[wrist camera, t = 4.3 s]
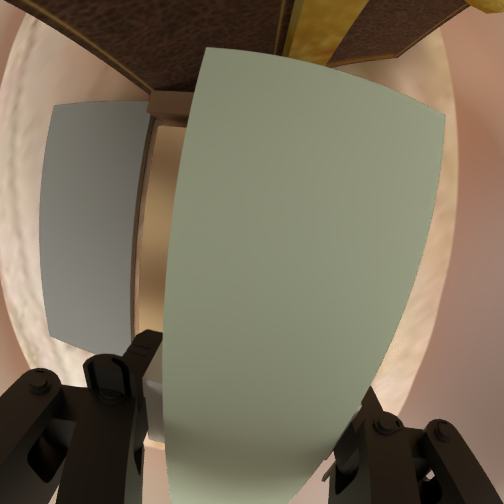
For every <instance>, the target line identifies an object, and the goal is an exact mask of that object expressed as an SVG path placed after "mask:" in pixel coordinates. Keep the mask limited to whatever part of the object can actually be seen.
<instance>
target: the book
mask: <svg viewBox="0 0 504 504" xmlns="http://www.w3.org/2000/svg"><path fill="white" fill-rule="evenodd" d="M4 1H6V2H8V3H10V4H12V5H14V6H16V7H18V8H20V9H21V10H23V11H25V12H27V13H29V14H30V15H32V16H34V17H36V18H37V19H39V20H41V21H42V22H44V23H46V24H47V25H49V26H51V27H52V28H54V29H56V30H57V31H59V32H60V33H62V34H63V35H65V36H67V37H68V38H70V39H71V40H73V41H74V42H76V43H77V44H79V45H80V46H82V47H84V48H85V49H86V50H88V51H89V52H91V53H92V54H94V55H95V56H97V57H98V58H100V59H101V60H103V61H104V62H105V63H107V64H108V65H110V66H111V67H113V68H114V69H115V70H117V71H118V72H120V73H121V74H122V75H124V76H125V77H126V78H128V79H129V80H130V81H132V82H133V83H135V84H136V85H137V86H139V87H140V88H141V89H143V90H144V91H145V92H147V93H148V94H149V95H150V94H151V91H178V92H195V88H196V84H197V80H198V76H199V72H200V68H201V65H202V61H203V57H204V54H205V50H206V47H209V48H223V49H234V50H243V51H251V52H258V53H265V54H271V55H276V56H282V57H287V58H292V59H296V60H301V61H305V62H310V63H314V64H318V65H321V66H325V67H329V68H331V67H336V66H341V65H347V64H353V63H359V62H365V61H372V60H380V59H389V58H398V57H399V56H400V55H402V54H403V53H404V52H406V51H407V50H408V49H410V48H411V47H412V46H414V45H415V44H416V43H418V42H419V41H420V40H422V39H423V38H424V37H426V36H427V35H429V34H430V33H431V32H433V31H434V30H435V29H437V28H438V27H440V26H441V25H443V24H444V23H445V22H447V21H448V20H450V19H451V18H453V17H454V16H456V15H457V14H459V13H460V12H462V11H463V10H465V9H466V8H468V7H469V6H473V7H475V8H477V9H479V10H481V11H483V12H485V13H487V14H489V13H501V12H503V11H504V0H4Z"/></svg>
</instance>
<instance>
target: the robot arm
mask: <svg viewBox="0 0 504 504" xmlns="http://www.w3.org/2000/svg"><path fill="white" fill-rule="evenodd" d="M162 346H163V333H162V332H158V331H154V330H150V329H146V330H144V331H143V332H141V333H139V334H137V335H136V337H135V338H134V340H133V341H132V343H131V345H129V347H128V348H127V350H126V352H125V353H124V354H123V356H119V355H115V354H106V353H103V354H98V355H94V356H92V357H90V358H89V359H87V360H86V361H85V363H84V364H83V369H84V374H85V378H86V383H87V387H75V386H68V385H62V384H61V381H60V379H59V377H58V375H56V374H55V373H54V372H53V371H51V370H48V369H45V368H35V369H31V370H29V371H27V372H26V373H24V374H23V375H22V376H21V377H20V378H19V379H18V380H17V381H16V382H15V383H14V384H12V386H10V388H8V390H6V392H5V393H3V394H2V396H1V397H0V504H48V503H49V501H50V500H51V498H52V496H53V494H54V492H55V491H56V489H57V487H58V485H59V489H58V494H57V499H56V504H142V486H143V464H144V451H145V450H144V444H143V442H144V439H145V436H146V434H147V431H148V437H149V439H150V440H154V441H158V442H161V443H165V438H164V421H163V392H162ZM333 451H334V455H335V459H336V461H335V462H334V463H333V464H332V466H331V467H330V468H329V469H328V471H327V472H326V473H325V474H324V476H323V478H322V481H324V482H325V480H326V479H327V478H328V477H329V476H330V481H329V482H330V483H329V499H328V504H503V502H502V500H501V499H500V497H499V495H498V493H497V492H496V490H495V488H494V486H493V485H492V483H491V481H490V480H489V478H488V477H487V475H486V473H485V472H484V470H483V468H482V467H481V465H480V464H479V462H478V461H477V459H476V458H475V456H474V454H473V453H472V451H471V450H470V448H469V447H468V446H467V444H466V442H465V441H464V439H463V438H462V436H461V435H460V433H459V432H458V431H457V430H456V428H455V427H454V426H453V425H452V424H451V423H449V422H448V421H445V420H442V419H435V420H432V421H430V422H429V423H428V425H427V426H426V427H425V429H424V430H422V429H414V428H407V427H404V425H403V423H402V421H401V420H400V419H399V418H398V417H397V416H395V415H393V414H391V413H389V412H385V411H383V409H382V407H381V405H380V403H379V401H378V399H377V397H376V395H375V393H374V391H373V389H372V387H371V386H370V387H369V388H368V390H367V392H366V394H365V396H364V398H363V399H362V401H361V403H360V405H359V406H358V408H357V410H356V411H355V413H354V415H353V417H352V418H351V420H350V421H349V423H348V425H347V426H346V428H345V429H344V431H343V433H342V434H341V436H340V437H339V439H338V440H337V442H336V443H335V445H334V446H333V447H332V449H331V450H330V452H329V453H328V455H327V456H326V457H325V459H324V460H327V459H328V457H329V456H330V455H331V453H332V452H333ZM431 470H432V471H433V473H434V475H435V476H434V477H433V478H432V479H431V480H430V479H428V478H427V477H426V475H427V474H428V473H429V472H430V471H431ZM59 483H60V484H59Z"/></svg>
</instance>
